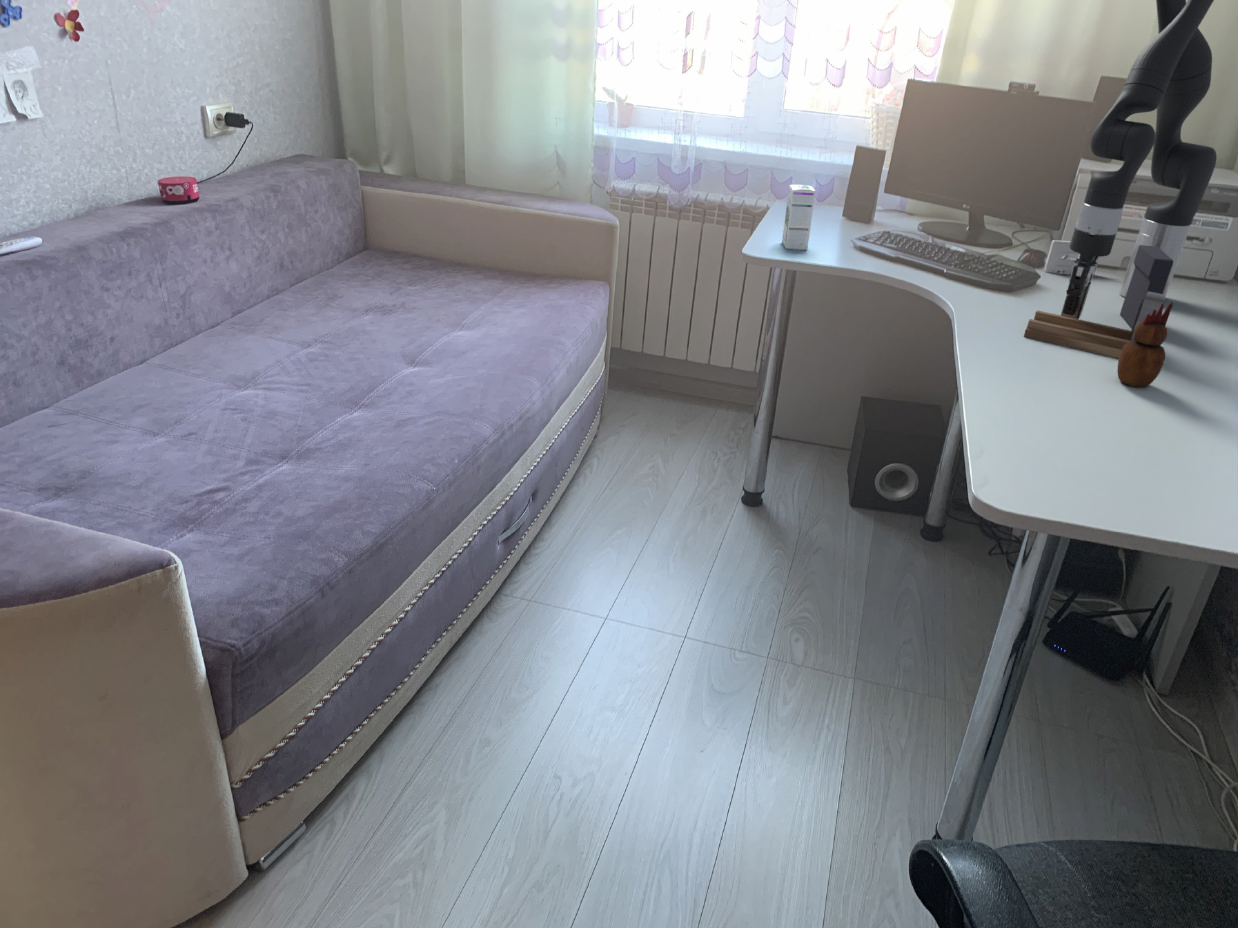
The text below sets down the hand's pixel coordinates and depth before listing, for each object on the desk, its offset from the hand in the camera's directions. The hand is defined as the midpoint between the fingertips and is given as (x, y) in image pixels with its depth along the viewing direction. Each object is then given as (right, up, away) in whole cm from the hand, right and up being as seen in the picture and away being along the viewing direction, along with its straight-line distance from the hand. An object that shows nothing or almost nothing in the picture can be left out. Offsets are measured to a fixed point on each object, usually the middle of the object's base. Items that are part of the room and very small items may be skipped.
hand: (1071, 309), depth 191 cm
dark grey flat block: (+14, -3, +3) cm, 15 cm away
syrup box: (-49, +22, +41) cm, 68 cm away
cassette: (+16, +14, +35) cm, 41 cm away
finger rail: (-1, -8, -10) cm, 13 cm away
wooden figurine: (-2, -18, -27) cm, 32 cm away
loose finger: (0, -2, +1) cm, 3 cm away
